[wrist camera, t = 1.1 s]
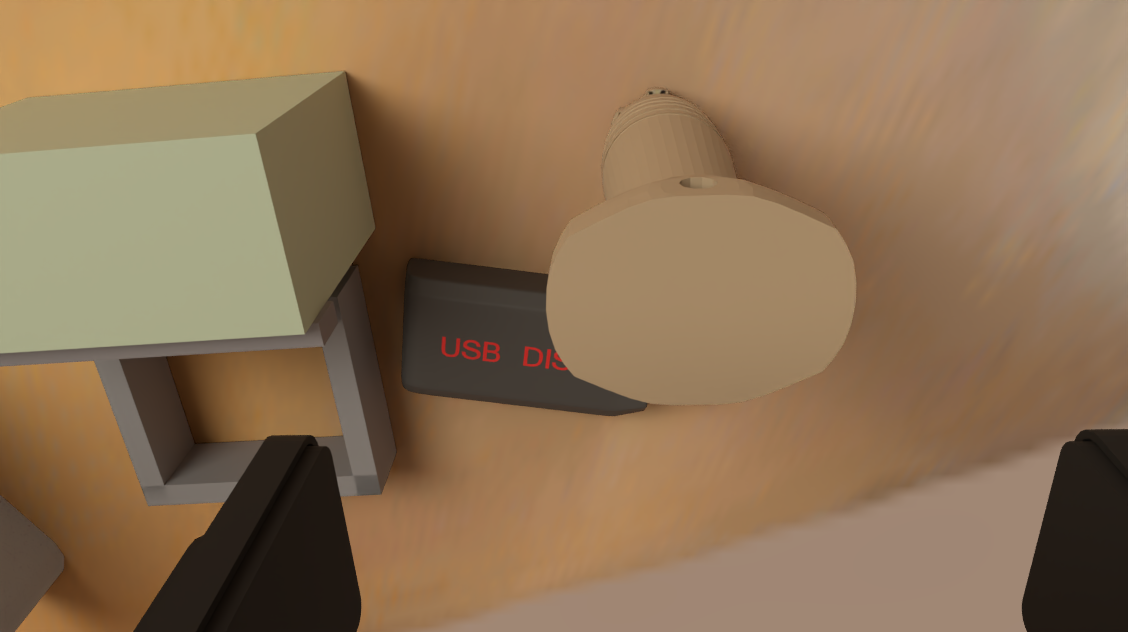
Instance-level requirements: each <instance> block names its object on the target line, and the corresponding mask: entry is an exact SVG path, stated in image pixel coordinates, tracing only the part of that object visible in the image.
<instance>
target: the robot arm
mask: <svg viewBox="0 0 1128 632" xmlns="http://www.w3.org/2000/svg"><path fill="white" fill-rule="evenodd" d="M360 616H361V596H360V591H359V586H358V581H357V576H356V571H355V566H354V561H353V556H352V551H351V546H350V541H349V536H348V531H347V527H346V522H345V517H344V512H343V507H342V502H341V497H340V492H339V487H338V482H337V477H336V472H335V467H334V462H333V457H332V454H331V451H330V449H329V447H327V446H319V445H318V442H317V440H316V439H315V437H313V436H311V435H279V436H269V437H267V438H266V439H265V441H264V442H263V443H262V445H261V447H260V448H259V450H258V451H257V453H256V454H255V456H254V458H253V459H252V461H251V462H250V464H249V465H248V467H247V468H246V470H245V472H244V473H243V475H242V476H241V478H240V479H239V481H238V483H237V484H236V486H235V487H234V489H233V490H232V492H231V494H230V495H229V497H228V498H227V500H226V501H225V503H224V505H223V506H222V508H221V509H220V511H219V512H218V514H217V515H216V517H215V519H214V520H213V522H212V523H211V525H210V526H209V528H208V530H207V531H206V533H205V534H204V535H203V536H201V537H199V538H197V539H195V540H194V541H193V543H192V544H191V545H190V546H189V547H188V548H187V550H186V551H185V553H184V555H183V556H182V558H181V559H180V561H179V562H178V564H177V565H176V567H175V568H174V570H173V571H172V573H171V575H170V576H169V578H168V579H167V581H166V582H165V584H164V585H163V587H162V588H161V590H160V591H159V593H158V595H157V596H156V598H155V599H154V601H153V602H152V604H151V605H150V607H149V608H148V610H147V611H146V613H145V615H144V616H143V618H142V619H141V621H140V622H139V624H138V625H137V627H136V628H135V630H134V631H133V632H357V629H358V626H359V622H360ZM1022 616H1023V621H1024V625H1025V628H1026V630H1027V632H1128V429H1099V430H1084V431H1081V432H1080V433H1079V434H1078V435H1077V436H1076V439H1075V441H1069V442H1066V443H1065V444H1064V445H1063V447H1062V449H1061V452H1060V456H1059V459H1058V463H1057V467H1056V471H1055V475H1054V479H1053V483H1052V487H1051V491H1050V495H1049V499H1048V502H1047V506H1046V510H1045V514H1044V518H1043V522H1042V526H1041V530H1040V534H1039V538H1038V542H1037V546H1036V550H1035V554H1034V557H1033V562H1032V565H1031V569H1030V573H1029V577H1028V581H1027V585H1026V588H1025V593H1024V597H1023V601H1022Z"/></svg>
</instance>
